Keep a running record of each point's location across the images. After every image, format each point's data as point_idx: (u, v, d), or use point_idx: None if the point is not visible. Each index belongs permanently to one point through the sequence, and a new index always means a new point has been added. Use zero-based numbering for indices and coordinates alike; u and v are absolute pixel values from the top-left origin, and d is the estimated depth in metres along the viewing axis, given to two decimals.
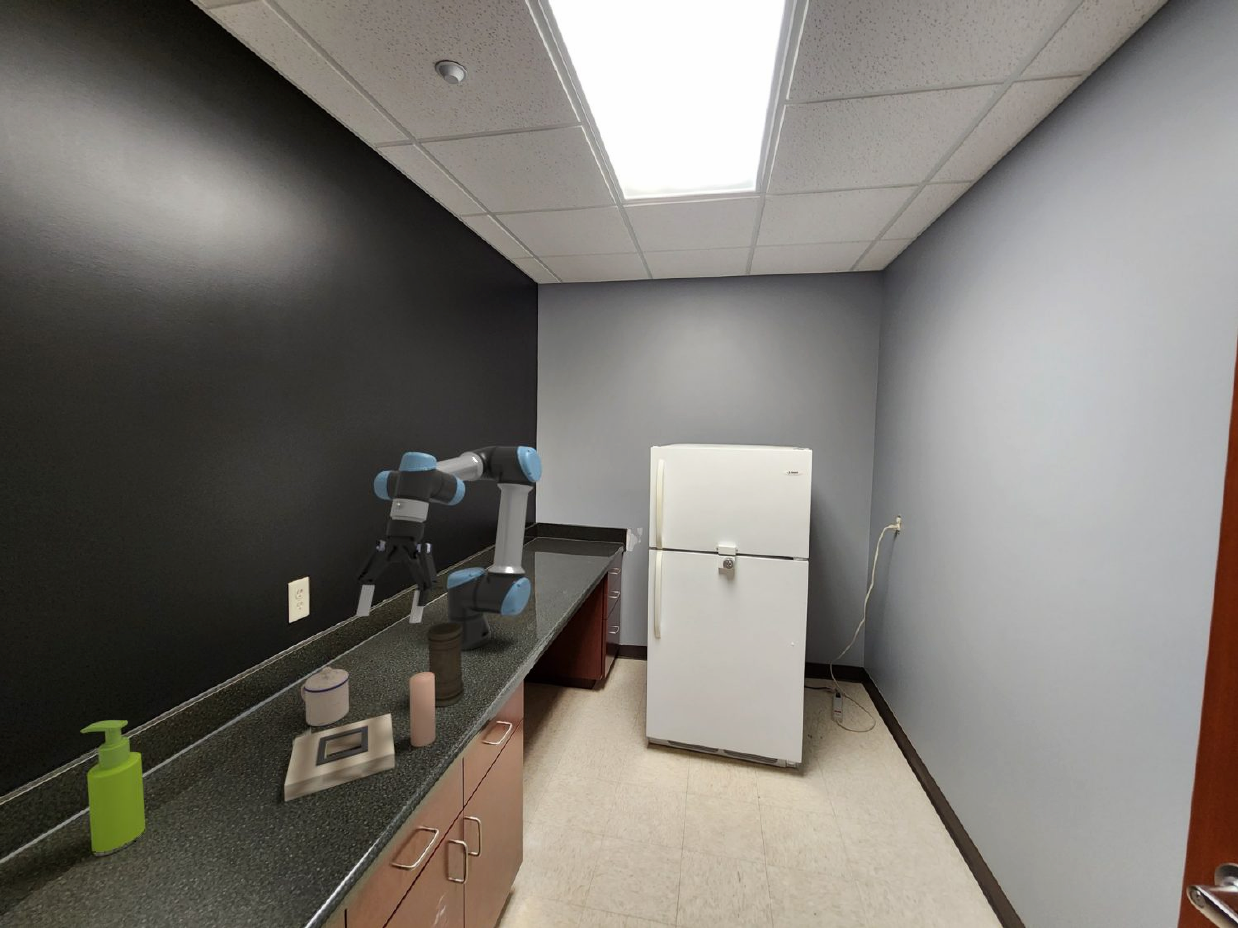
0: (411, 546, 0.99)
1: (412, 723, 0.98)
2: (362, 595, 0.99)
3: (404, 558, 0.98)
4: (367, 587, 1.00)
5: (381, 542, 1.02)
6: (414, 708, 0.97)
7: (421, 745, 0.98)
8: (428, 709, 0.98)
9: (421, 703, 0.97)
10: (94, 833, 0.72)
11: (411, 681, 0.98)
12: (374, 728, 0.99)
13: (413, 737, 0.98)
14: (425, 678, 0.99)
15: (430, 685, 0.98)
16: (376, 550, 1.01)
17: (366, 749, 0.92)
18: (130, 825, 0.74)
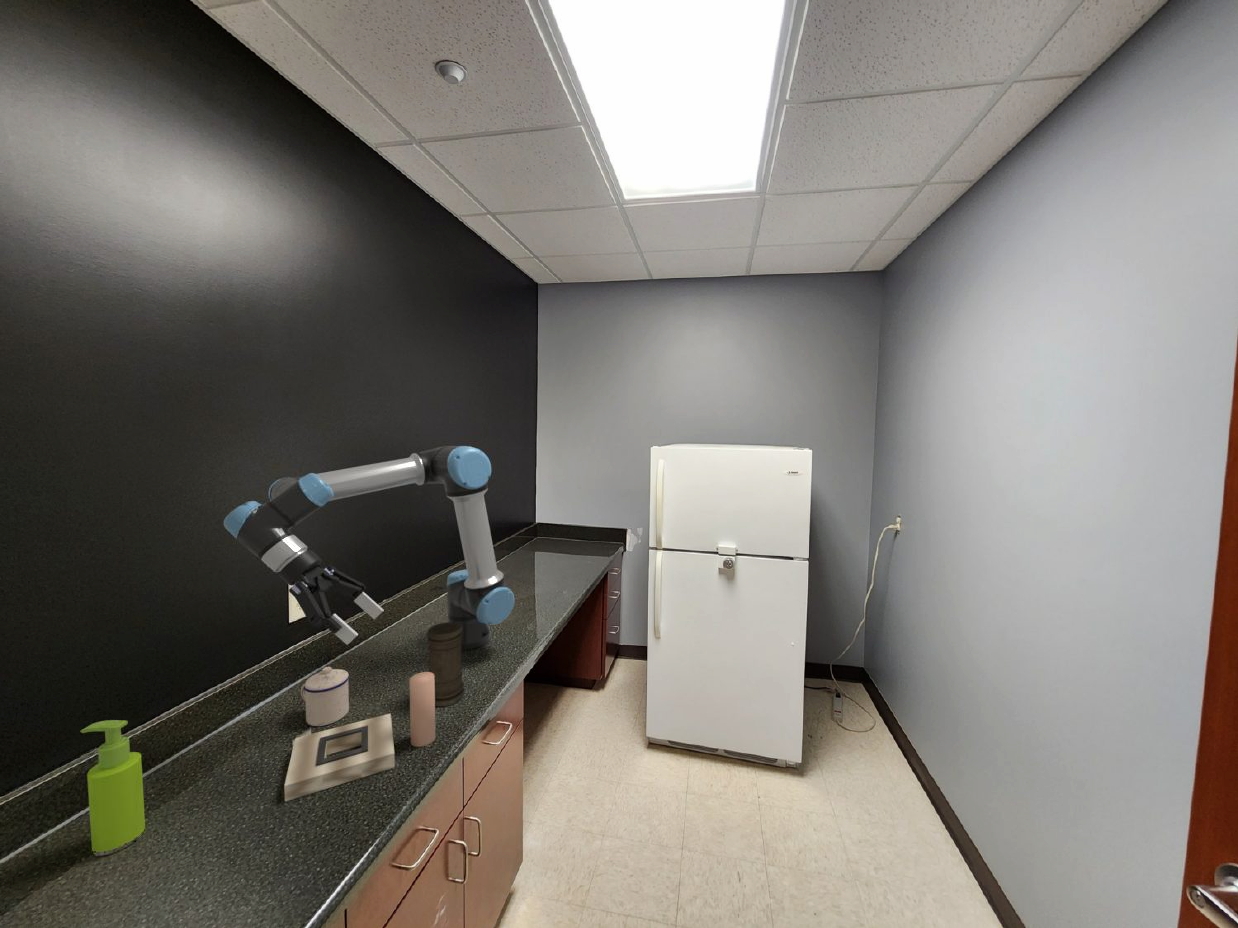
0: None
1: (412, 723, 0.98)
2: None
3: None
4: (357, 600, 1.07)
5: None
6: (414, 708, 0.97)
7: (421, 745, 0.98)
8: (428, 709, 0.98)
9: (421, 703, 0.97)
10: (94, 833, 0.72)
11: (411, 681, 0.98)
12: (374, 728, 0.99)
13: (413, 737, 0.98)
14: (425, 678, 0.99)
15: (430, 685, 0.98)
16: None
17: (366, 749, 0.92)
18: (130, 825, 0.74)
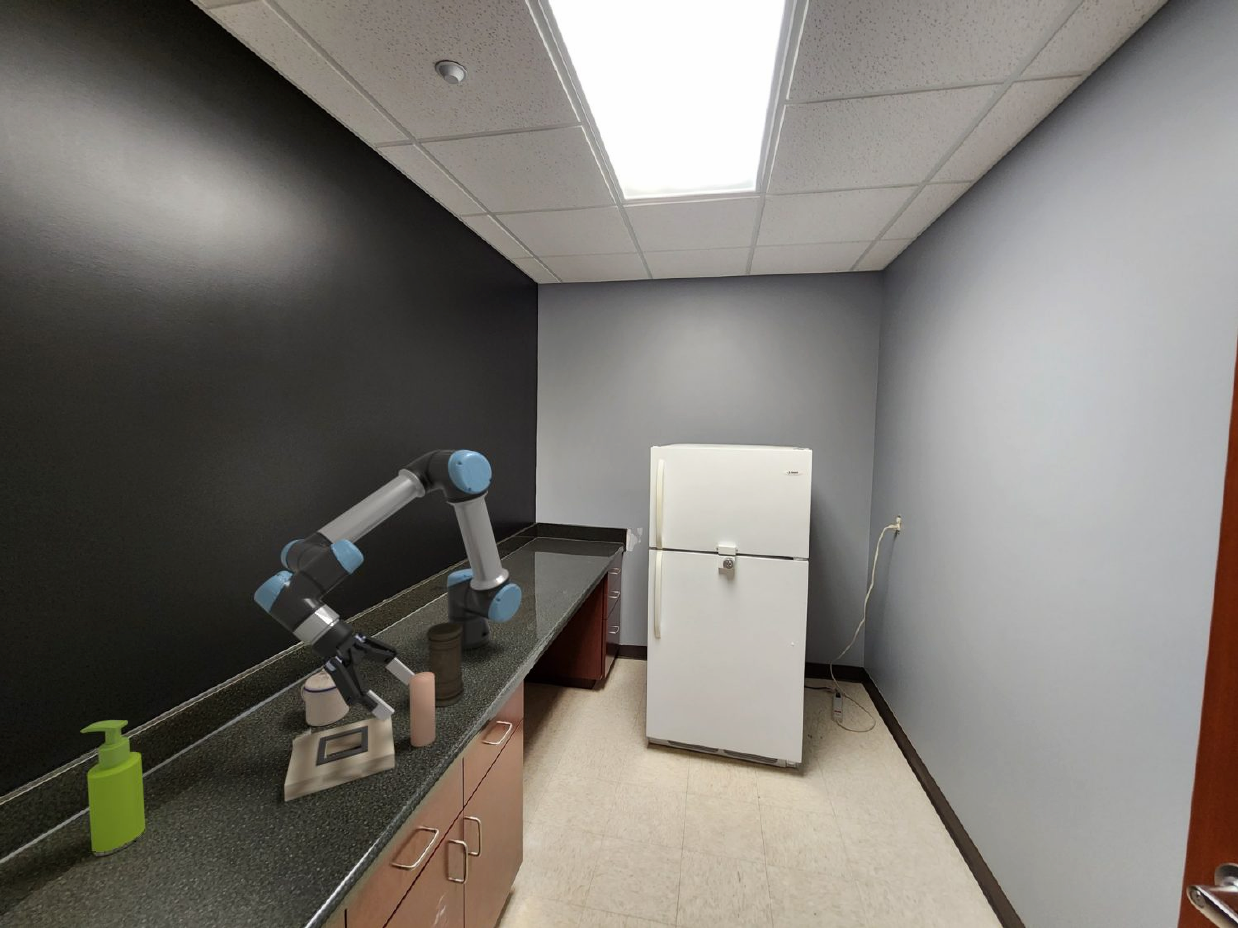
0: None
1: (412, 723, 0.98)
2: None
3: None
4: (389, 666, 1.04)
5: None
6: (414, 708, 0.97)
7: (421, 745, 0.98)
8: (428, 709, 0.98)
9: (421, 703, 0.97)
10: (94, 833, 0.72)
11: (411, 681, 0.98)
12: (374, 728, 0.99)
13: (413, 737, 0.98)
14: (425, 678, 0.99)
15: (430, 685, 0.98)
16: None
17: (366, 749, 0.92)
18: (130, 825, 0.74)
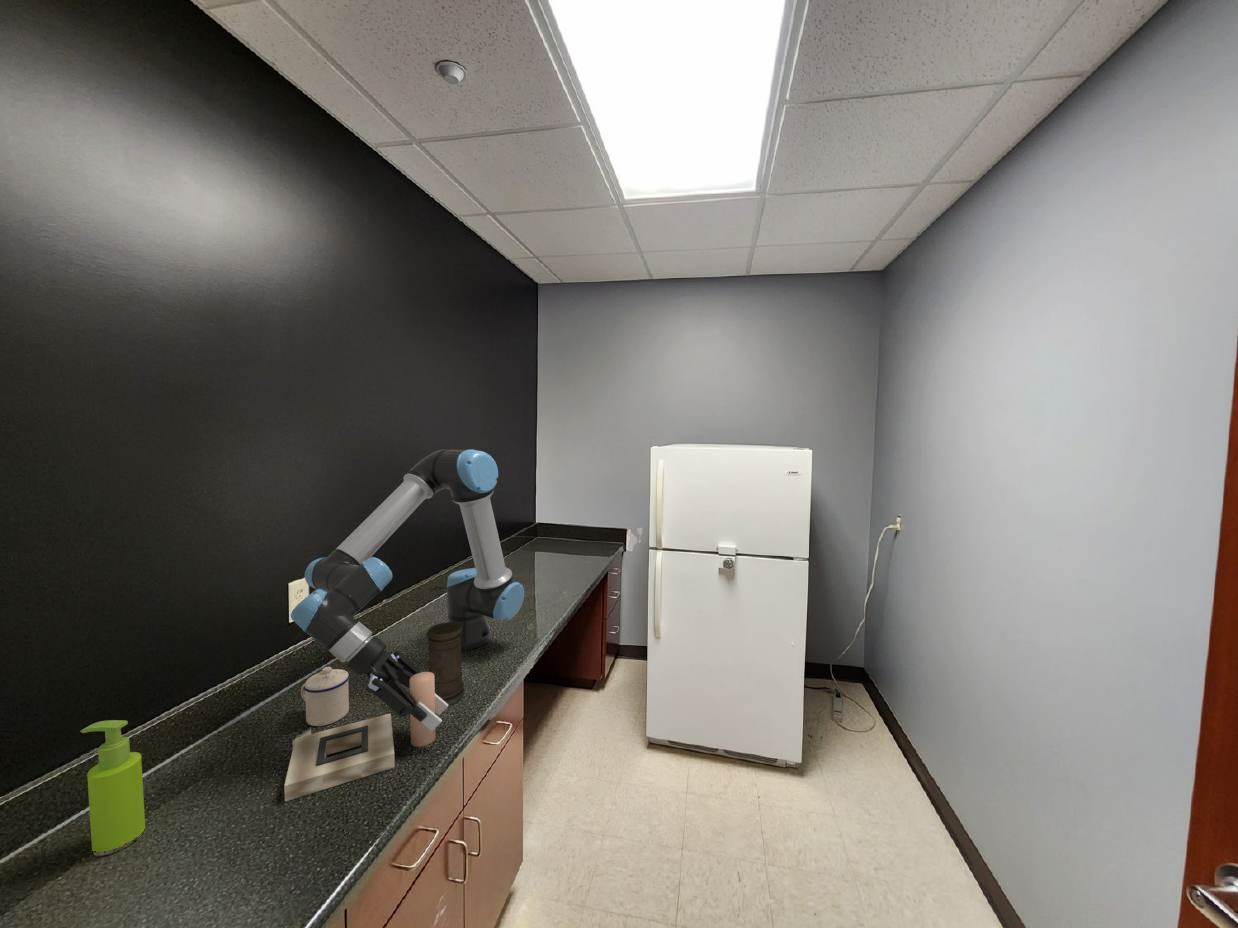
0: None
1: (412, 723, 0.98)
2: None
3: None
4: None
5: None
6: None
7: (421, 745, 0.98)
8: None
9: None
10: (94, 833, 0.72)
11: (411, 681, 0.98)
12: (374, 728, 0.99)
13: (413, 737, 0.98)
14: (425, 678, 0.99)
15: (430, 685, 0.98)
16: None
17: (366, 749, 0.92)
18: (130, 825, 0.74)
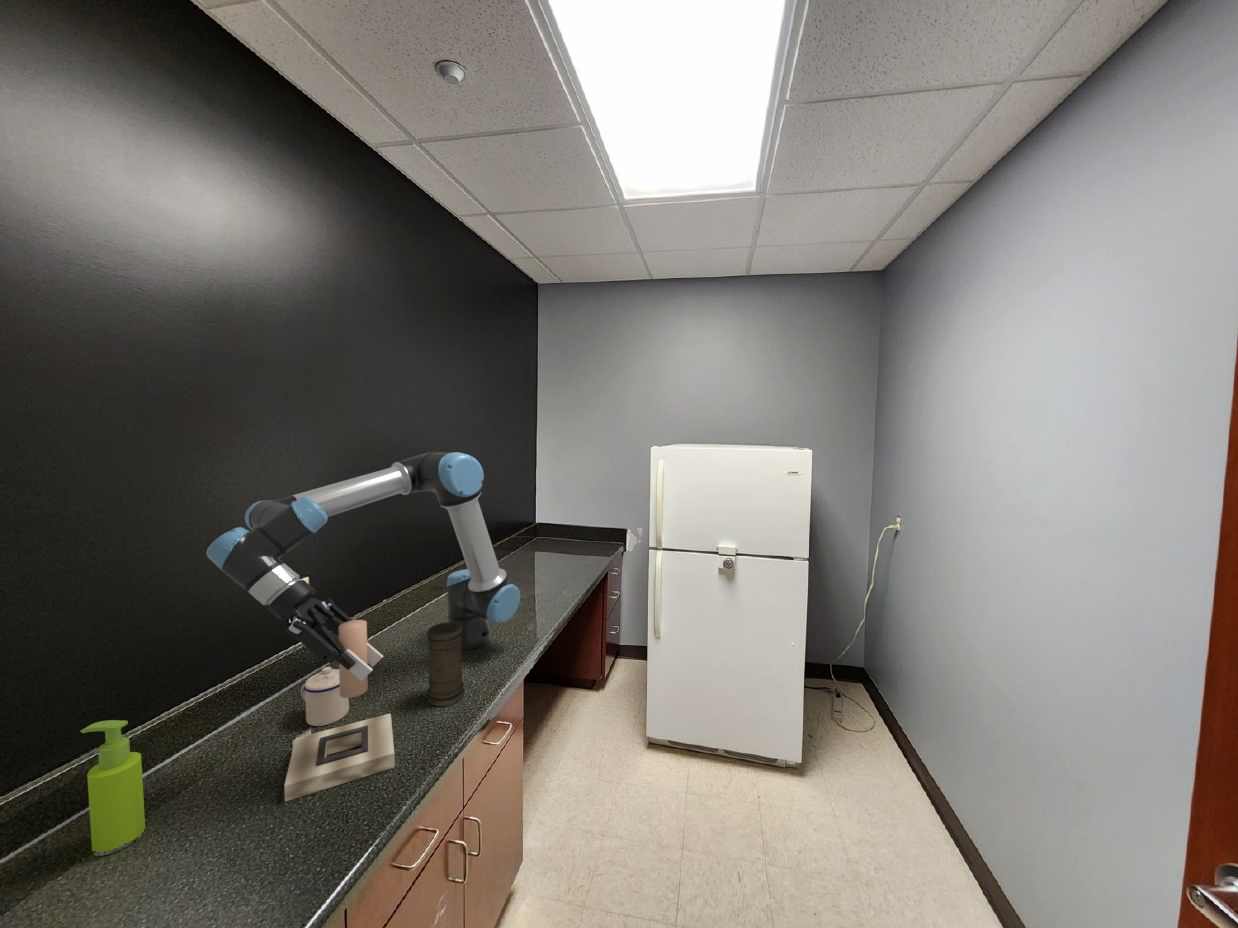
0: None
1: (340, 672, 0.91)
2: None
3: None
4: None
5: None
6: None
7: (350, 696, 0.91)
8: None
9: None
10: (94, 833, 0.72)
11: (340, 627, 0.91)
12: (374, 728, 0.99)
13: (342, 688, 0.91)
14: (355, 625, 0.92)
15: (360, 631, 0.92)
16: None
17: (366, 749, 0.92)
18: (130, 825, 0.74)
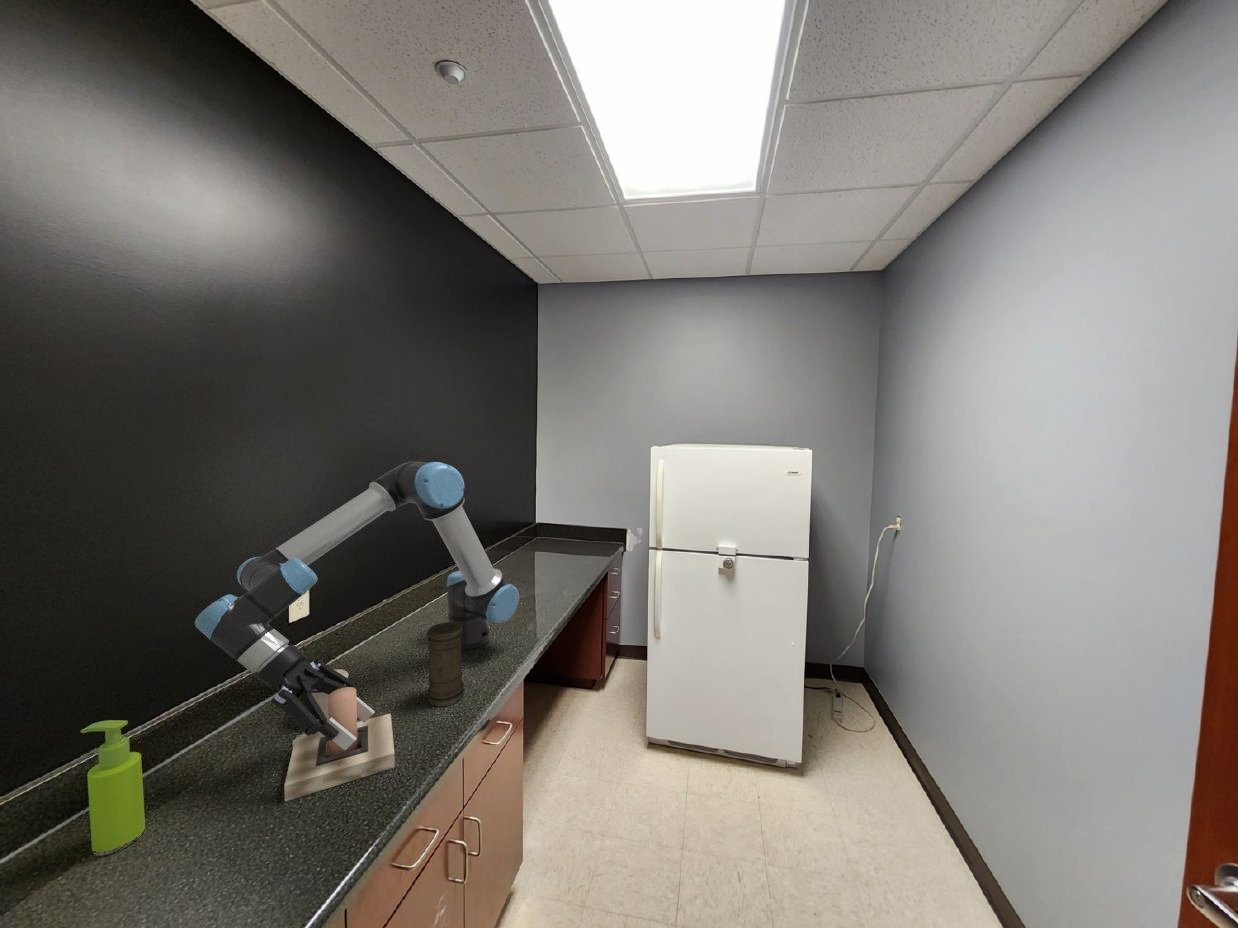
0: None
1: (330, 742, 0.91)
2: None
3: None
4: None
5: None
6: None
7: None
8: (347, 727, 0.92)
9: (340, 721, 0.91)
10: (94, 833, 0.72)
11: (329, 697, 0.91)
12: (374, 728, 0.99)
13: None
14: (345, 694, 0.93)
15: (349, 701, 0.92)
16: None
17: (366, 749, 0.92)
18: (130, 825, 0.74)
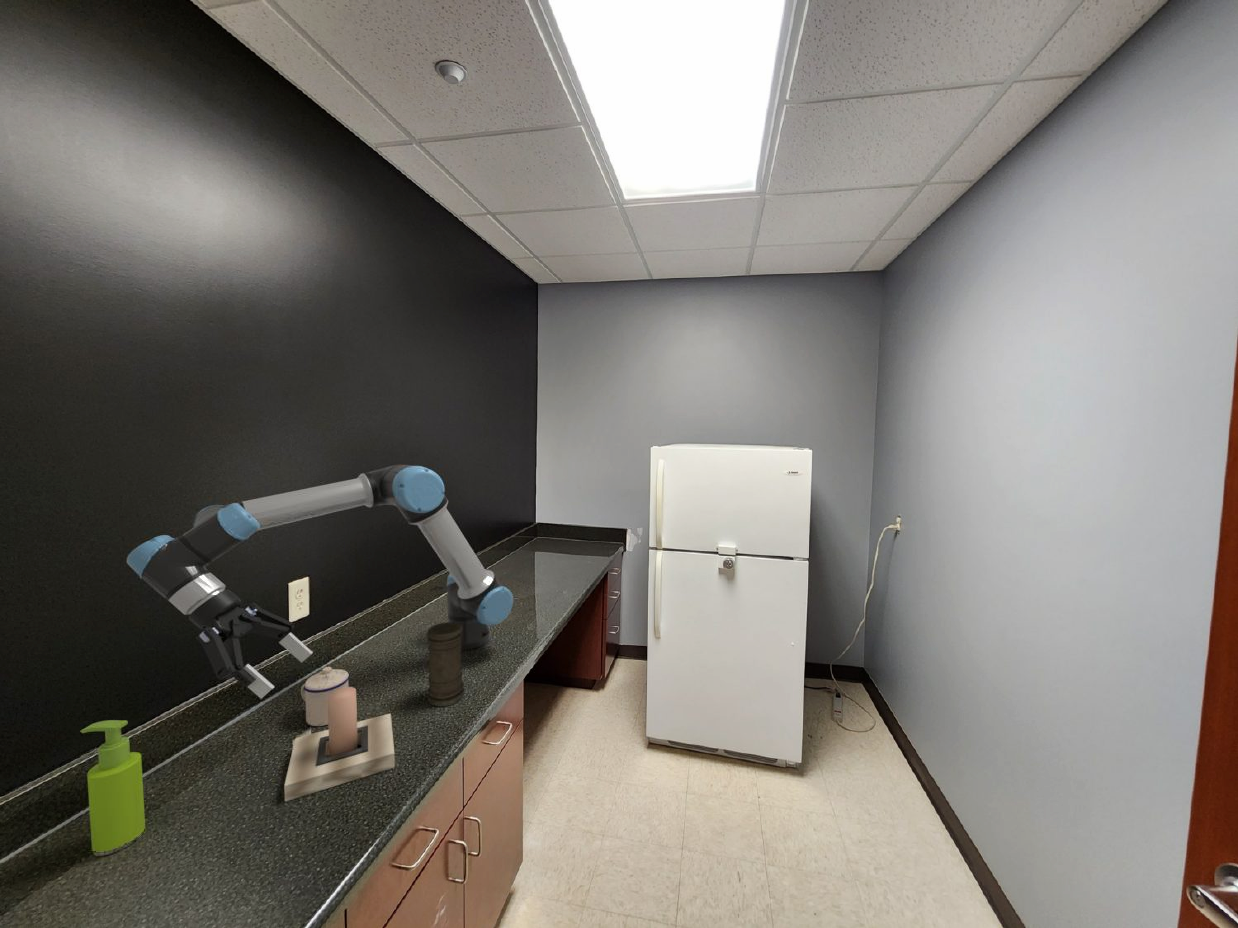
0: None
1: (330, 742, 0.91)
2: None
3: None
4: (283, 641, 0.98)
5: None
6: (332, 726, 0.91)
7: None
8: (347, 727, 0.92)
9: (340, 721, 0.91)
10: (94, 833, 0.72)
11: (329, 697, 0.91)
12: (374, 728, 0.99)
13: None
14: (344, 694, 0.93)
15: (349, 701, 0.92)
16: None
17: (366, 749, 0.92)
18: (130, 825, 0.74)
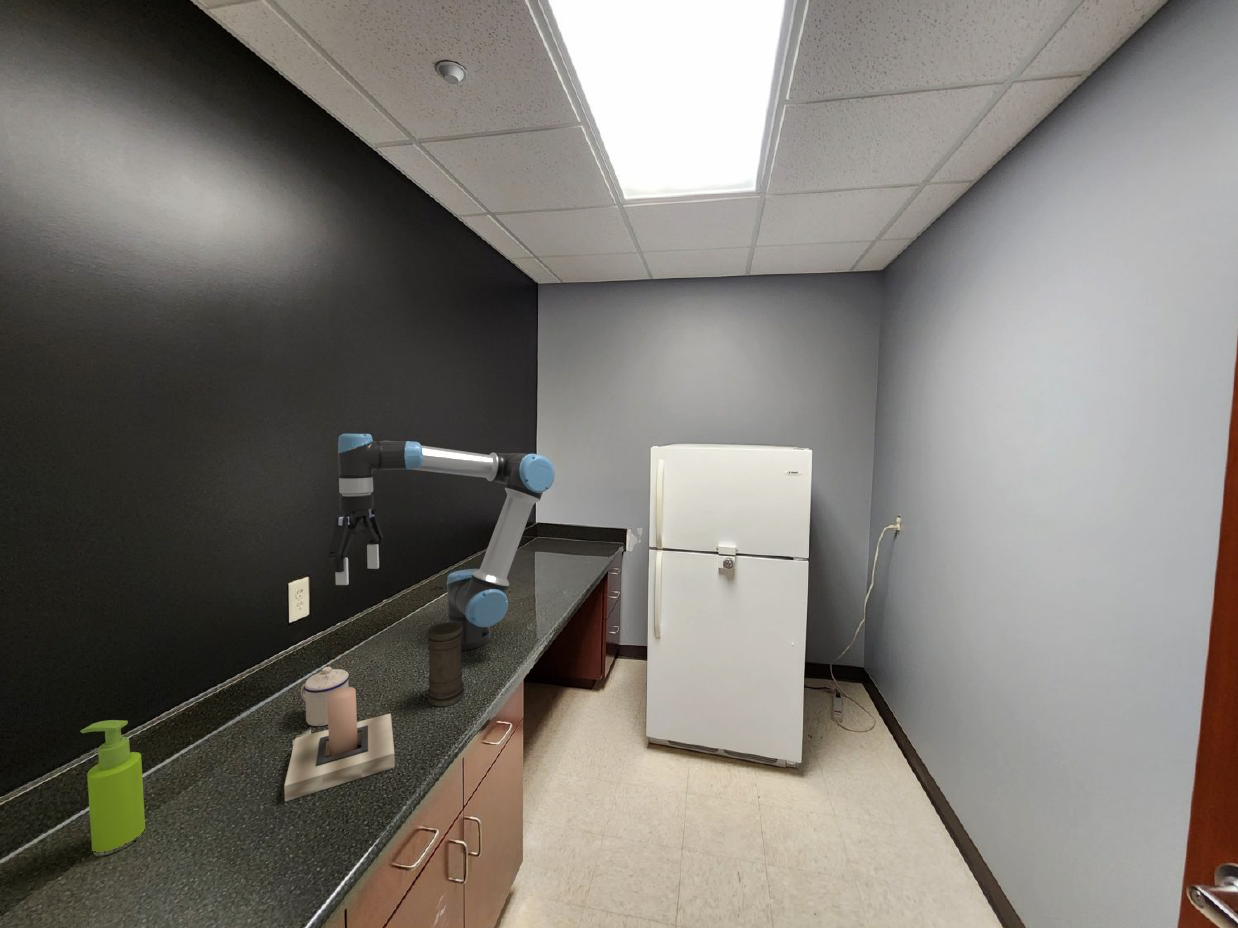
0: None
1: (330, 743, 0.91)
2: None
3: None
4: (369, 546, 1.23)
5: None
6: (331, 727, 0.91)
7: None
8: (347, 727, 0.92)
9: (339, 721, 0.91)
10: (94, 833, 0.72)
11: (328, 698, 0.91)
12: (374, 728, 0.99)
13: None
14: (344, 694, 0.92)
15: (349, 701, 0.92)
16: None
17: (366, 749, 0.92)
18: (130, 825, 0.74)
